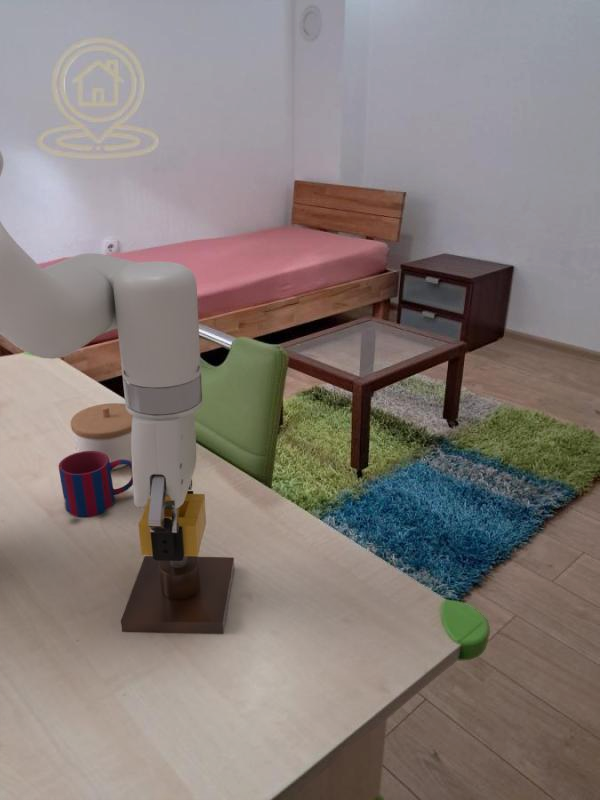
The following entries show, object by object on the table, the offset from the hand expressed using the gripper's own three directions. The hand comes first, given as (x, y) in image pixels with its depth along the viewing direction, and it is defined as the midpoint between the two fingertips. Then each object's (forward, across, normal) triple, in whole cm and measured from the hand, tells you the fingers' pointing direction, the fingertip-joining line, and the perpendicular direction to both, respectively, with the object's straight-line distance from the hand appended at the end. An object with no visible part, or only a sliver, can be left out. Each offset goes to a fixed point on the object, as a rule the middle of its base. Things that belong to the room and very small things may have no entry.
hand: (174, 538), depth 70 cm
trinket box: (+9, -31, -17) cm, 36 cm away
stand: (+8, 0, 0) cm, 8 cm away
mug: (+9, -19, -15) cm, 26 cm away
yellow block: (0, 0, 0) cm, 0 cm away
